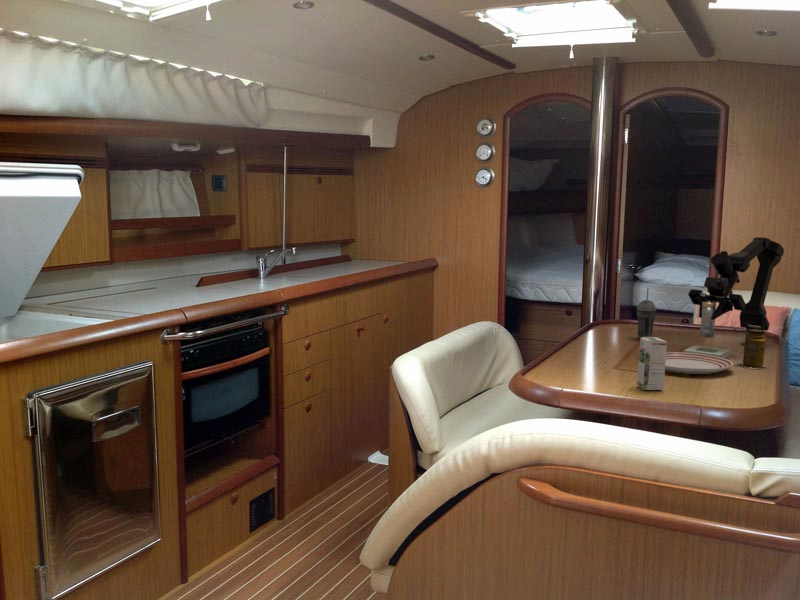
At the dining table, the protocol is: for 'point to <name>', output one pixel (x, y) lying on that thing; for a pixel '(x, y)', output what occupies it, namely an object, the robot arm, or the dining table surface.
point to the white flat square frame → (708, 351)
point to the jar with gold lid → (707, 319)
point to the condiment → (753, 349)
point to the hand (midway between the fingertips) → (706, 317)
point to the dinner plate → (695, 363)
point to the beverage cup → (645, 317)
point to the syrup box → (651, 363)
